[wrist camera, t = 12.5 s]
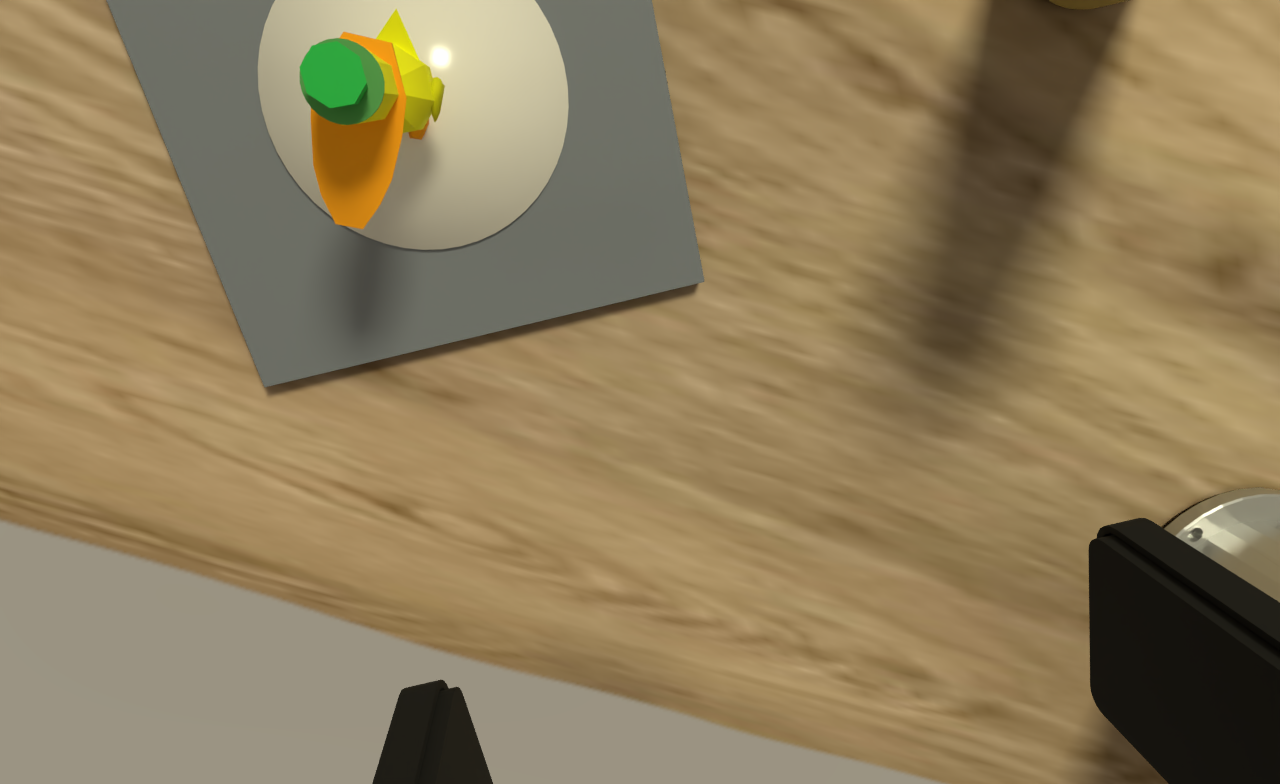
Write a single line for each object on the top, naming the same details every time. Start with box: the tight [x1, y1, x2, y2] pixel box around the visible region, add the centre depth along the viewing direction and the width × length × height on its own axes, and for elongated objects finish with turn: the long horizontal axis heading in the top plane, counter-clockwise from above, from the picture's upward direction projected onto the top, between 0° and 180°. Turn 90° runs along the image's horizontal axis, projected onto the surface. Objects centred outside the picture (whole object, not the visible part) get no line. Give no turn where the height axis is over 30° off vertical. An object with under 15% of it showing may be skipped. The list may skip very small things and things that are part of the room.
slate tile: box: [107, 0, 704, 387], centre depth 31 cm, size 20×20×1 cm
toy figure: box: [299, 9, 445, 229], centre depth 25 cm, size 7×4×12 cm, turn 168°
